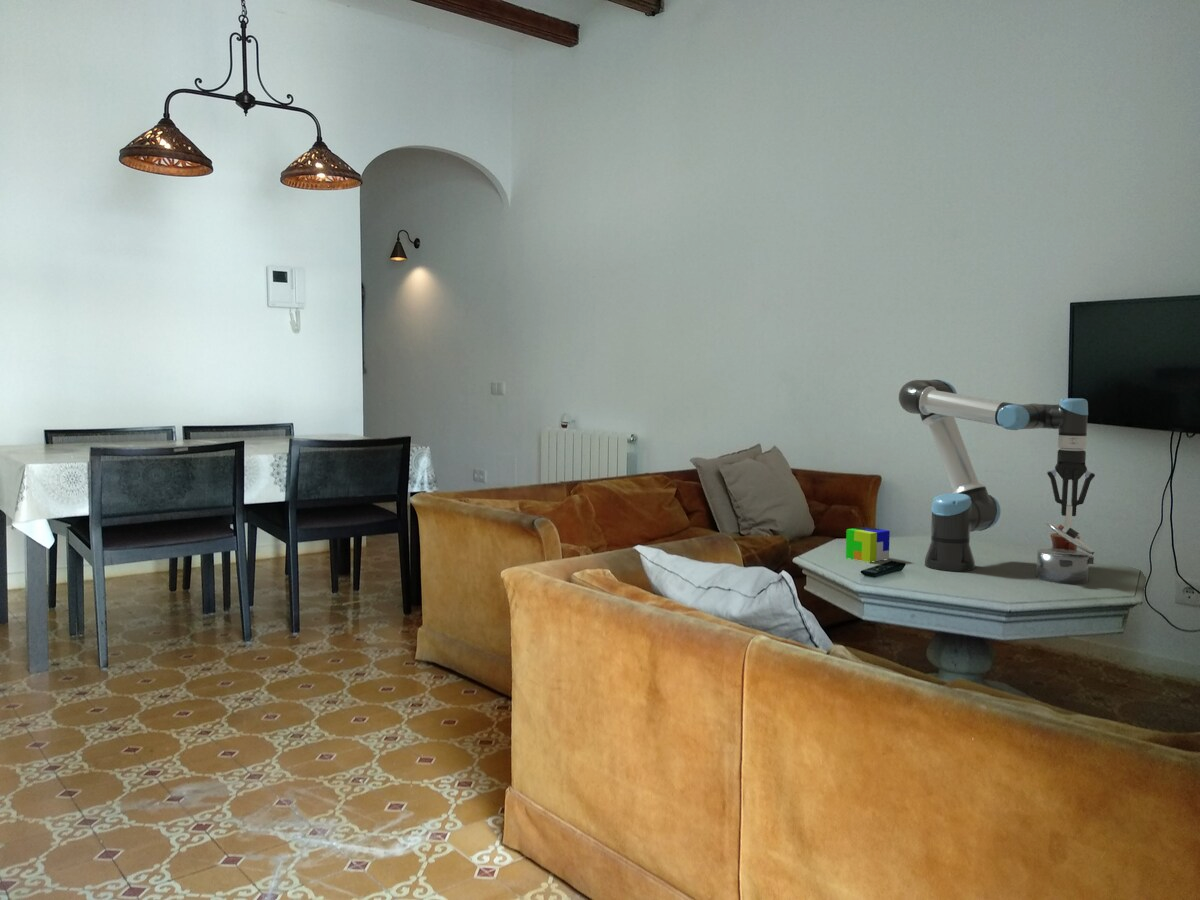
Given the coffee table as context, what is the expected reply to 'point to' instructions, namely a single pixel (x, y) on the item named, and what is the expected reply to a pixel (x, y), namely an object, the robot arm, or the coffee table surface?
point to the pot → (1063, 566)
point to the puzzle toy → (867, 544)
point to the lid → (1070, 536)
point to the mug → (1062, 542)
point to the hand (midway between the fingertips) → (1067, 526)
